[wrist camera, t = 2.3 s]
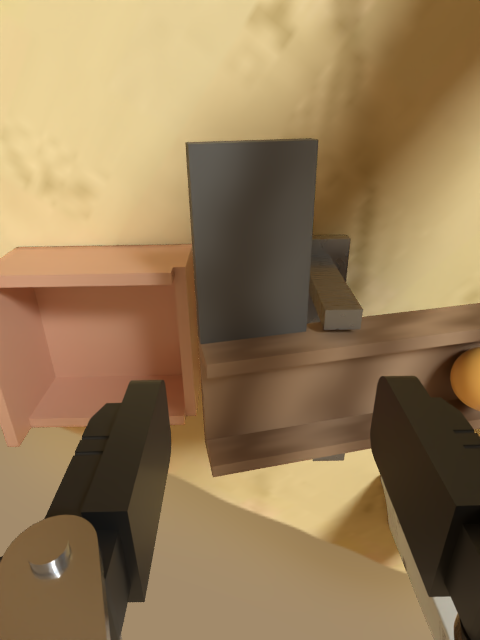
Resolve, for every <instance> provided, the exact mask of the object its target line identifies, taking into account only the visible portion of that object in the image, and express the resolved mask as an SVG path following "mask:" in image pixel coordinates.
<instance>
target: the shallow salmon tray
mask: <svg viewBox="0 0 480 640" xmlns="http://www.w3.org/2000/svg"><path fill="white" fill-rule="evenodd" d="M131 380H164V382H165V386H166V394H167V403H168V412H169V421H170V425H185V419H186V416H196V415H197V406H198V398H199V389H200V381H201V374H200V358H199V343H198V327H197V312H196V297H195V281H194V266H193V250H192V244H176V245H116V246H56V247H16V248H15V249H13V250H12V251H10V252H9V253H7V254H6V255H5V256H3V257H2V258H0V425H1V428H2V431H3V434H4V437H5V440H6V443H7V446H8V447H17V446H18V447H19V446H20V445H21V443H22V441H23V440H24V438H25V436H26V435H27V433H28V432H29V430H30V429H31V427H82V426H87V424H88V422H89V420H90V418H91V417H92V416H93V415H94V414H95V413H97V412H98V411H99V410H100V409H101V408H102V407H103V406H104V405H105V404H106V403H122V400H123V398H124V395H125V392H126V390H127V387H128V384H129V382H130V381H131Z"/></svg>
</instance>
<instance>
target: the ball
mask: <svg viewBox="0 0 480 640" xmlns="http://www.w3.org/2000/svg"><path fill="white" fill-rule="evenodd" d="M450 381H451V386H452V389H453V391H454V393H455V394H456V396H457V397H458V398H459V399H460V400H461V401H462V402H463V403H464V404H465V405H467V406H469V407H470V408H473V409H475V410H478V411H480V347H476V348H473V349H470V350H468V351H466V352H464V353H463V354H461V355H460V356H459V357H458V358H457V359H456V361H455V362H454V364H453V366H452V369H451V373H450Z"/></svg>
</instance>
